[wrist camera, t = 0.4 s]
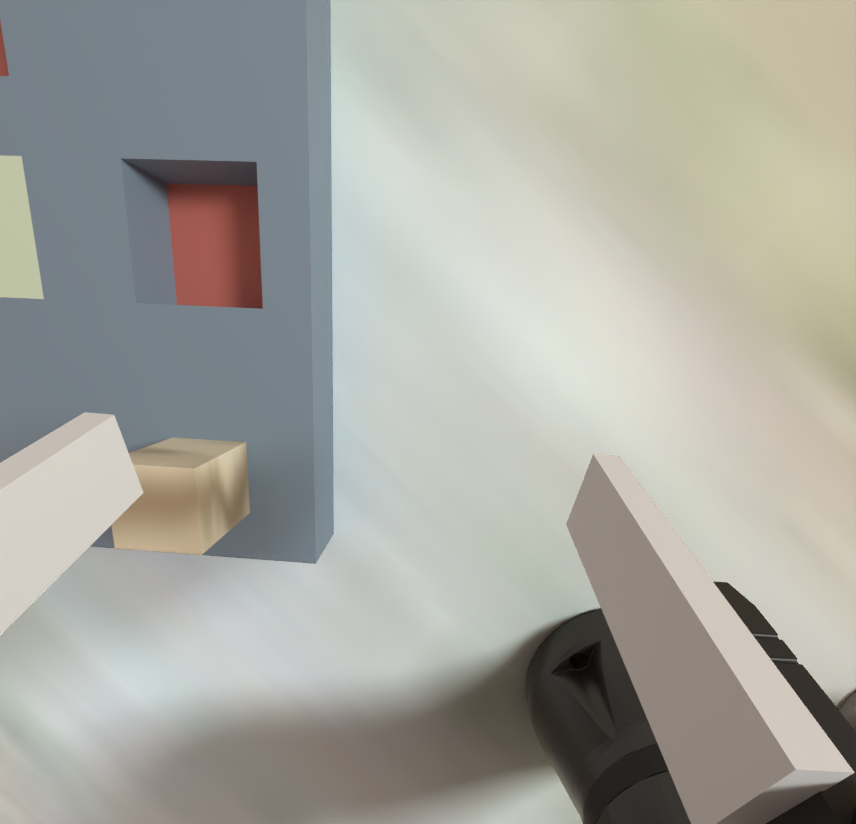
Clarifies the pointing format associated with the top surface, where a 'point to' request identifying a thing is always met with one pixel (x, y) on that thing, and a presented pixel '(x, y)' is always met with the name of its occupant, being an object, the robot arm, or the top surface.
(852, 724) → the mate gourd
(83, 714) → the top surface
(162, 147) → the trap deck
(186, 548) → the maple block
